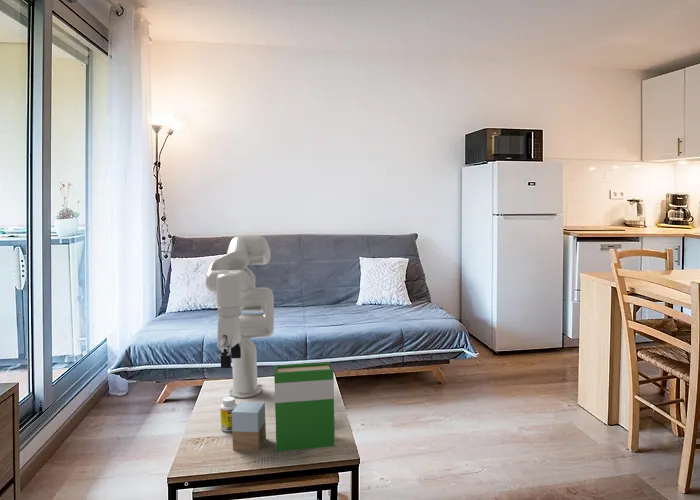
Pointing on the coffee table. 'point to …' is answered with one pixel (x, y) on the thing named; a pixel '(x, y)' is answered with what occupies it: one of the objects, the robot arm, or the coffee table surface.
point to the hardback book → (304, 406)
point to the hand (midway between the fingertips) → (231, 362)
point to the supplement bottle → (227, 413)
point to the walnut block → (249, 439)
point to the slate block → (248, 416)
